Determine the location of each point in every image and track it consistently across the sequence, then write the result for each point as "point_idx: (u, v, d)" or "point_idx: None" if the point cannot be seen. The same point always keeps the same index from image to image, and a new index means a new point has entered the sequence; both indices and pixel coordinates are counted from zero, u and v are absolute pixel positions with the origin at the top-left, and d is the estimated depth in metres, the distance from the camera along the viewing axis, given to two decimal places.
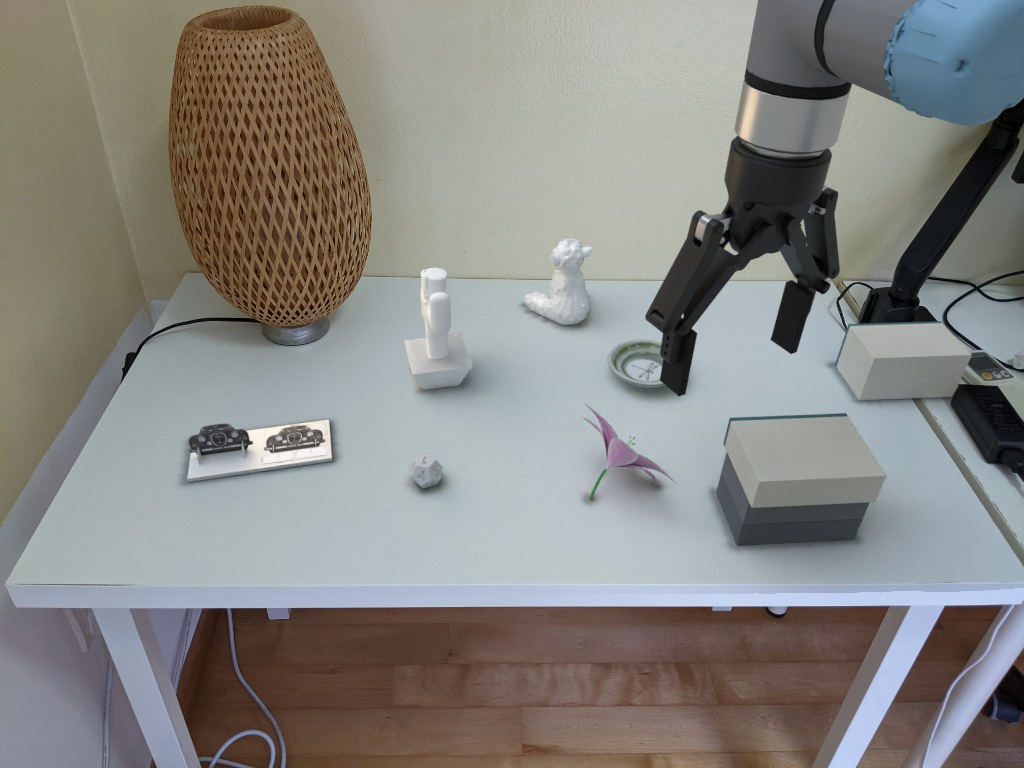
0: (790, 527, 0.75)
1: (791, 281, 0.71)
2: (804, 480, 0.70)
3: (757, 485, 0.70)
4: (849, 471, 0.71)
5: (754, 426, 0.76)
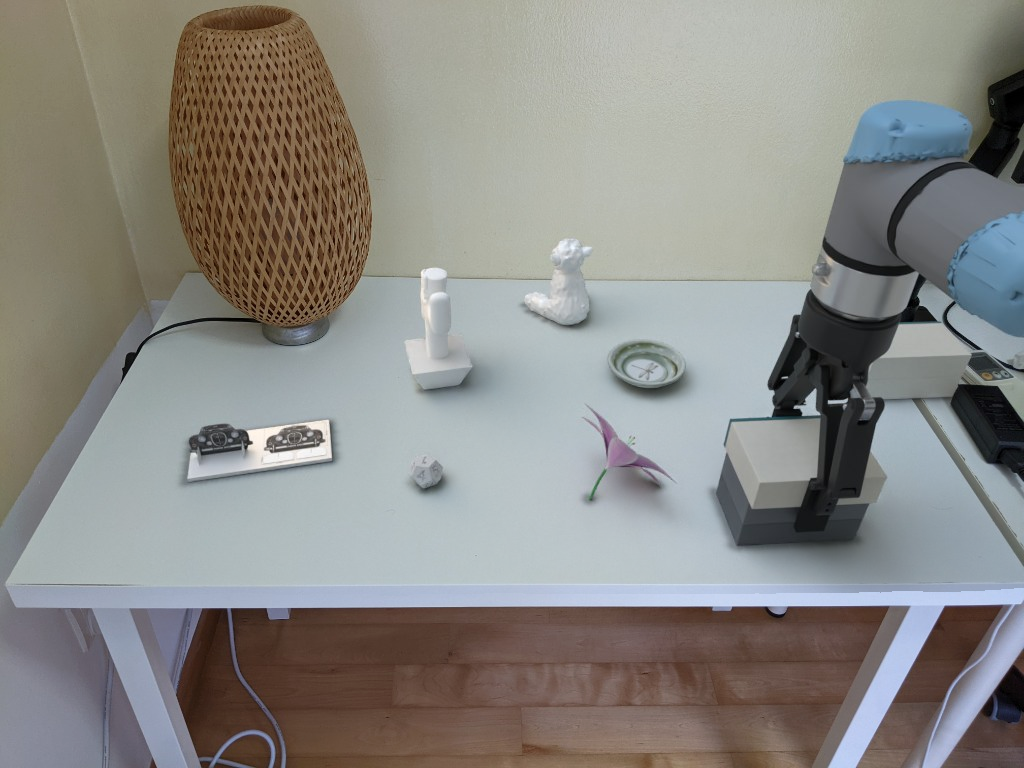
0: (790, 527, 0.75)
1: (776, 410, 0.77)
2: (805, 481, 0.70)
3: (757, 486, 0.70)
4: None
5: (754, 427, 0.76)
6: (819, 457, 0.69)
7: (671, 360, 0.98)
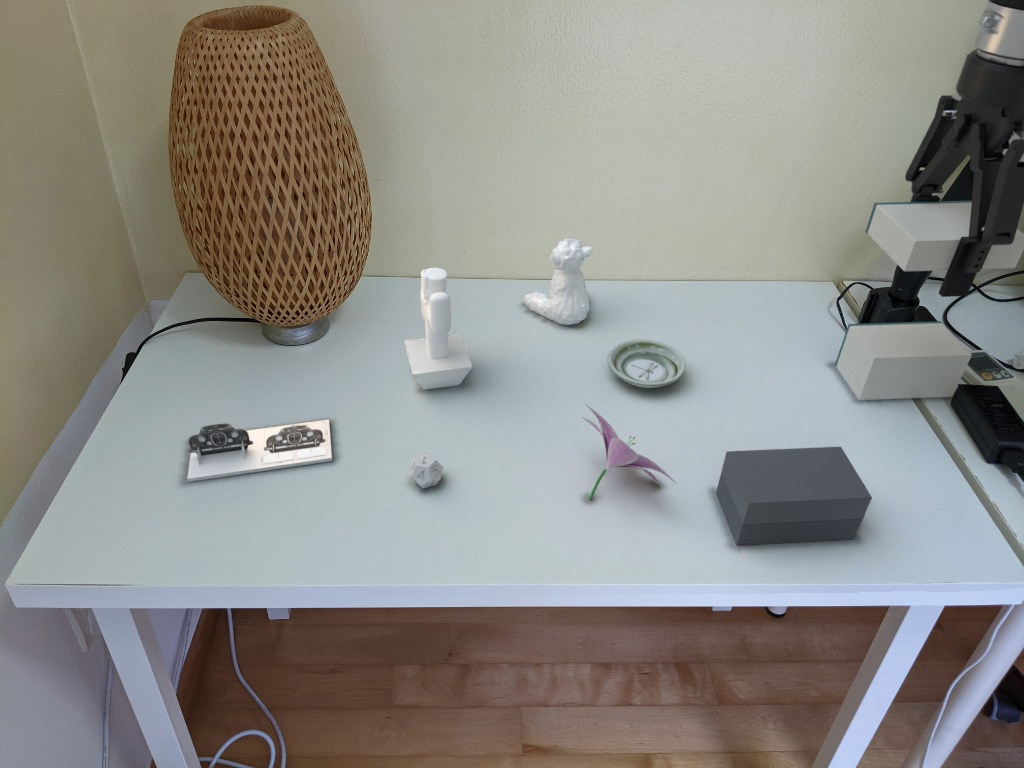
0: (790, 527, 0.75)
1: (916, 196, 0.84)
2: (955, 241, 0.77)
3: (912, 245, 0.77)
4: None
5: (899, 208, 0.83)
6: (971, 214, 0.76)
7: (671, 360, 0.98)
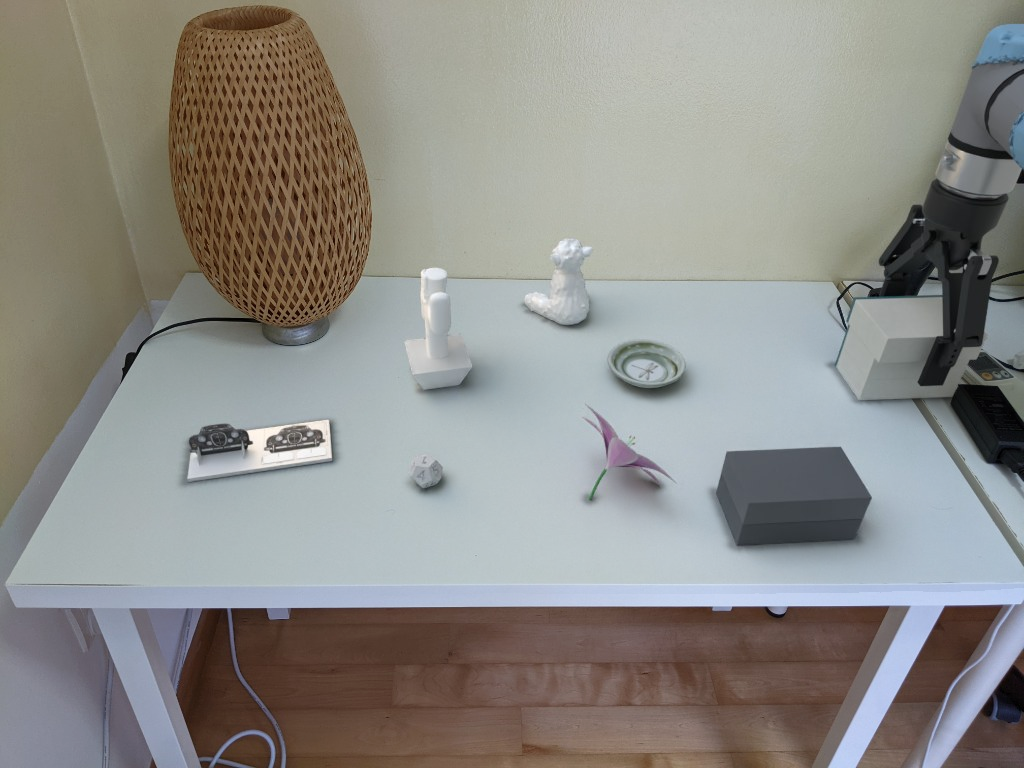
0: (790, 527, 0.75)
1: (887, 280, 0.96)
2: (923, 338, 0.88)
3: (885, 342, 0.88)
4: None
5: (875, 303, 0.94)
6: (943, 318, 0.85)
7: (671, 360, 0.98)
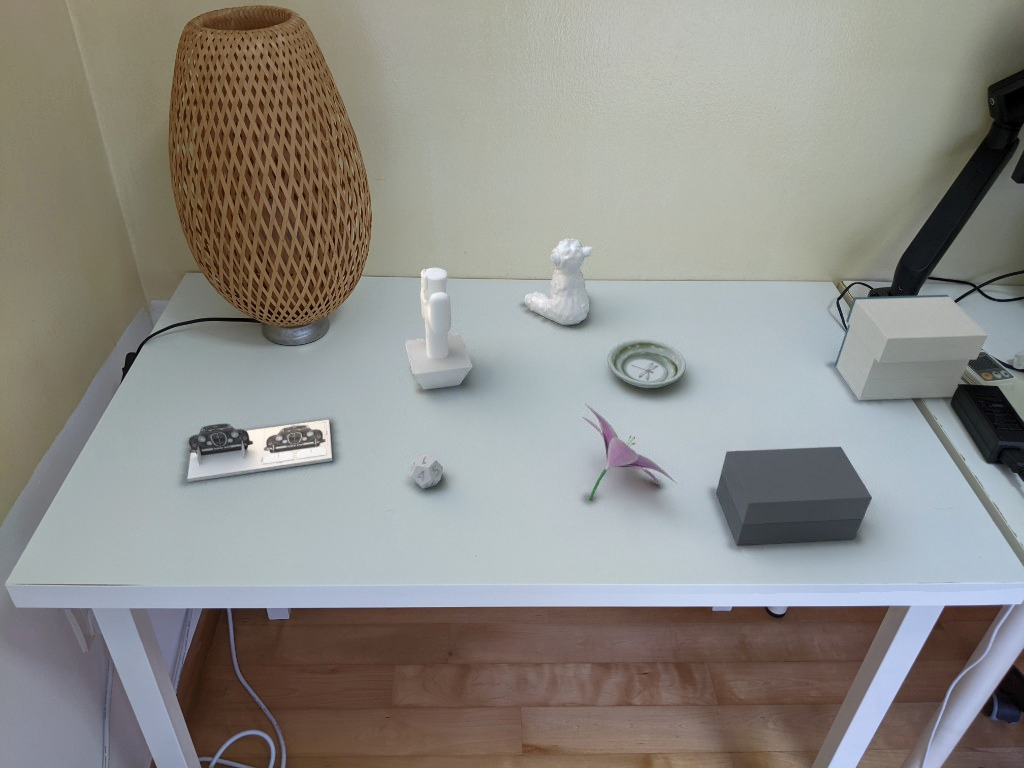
0: (790, 527, 0.75)
1: None
2: (923, 338, 0.88)
3: (885, 342, 0.88)
4: (958, 332, 0.89)
5: (875, 303, 0.94)
6: None
7: (671, 360, 0.98)
